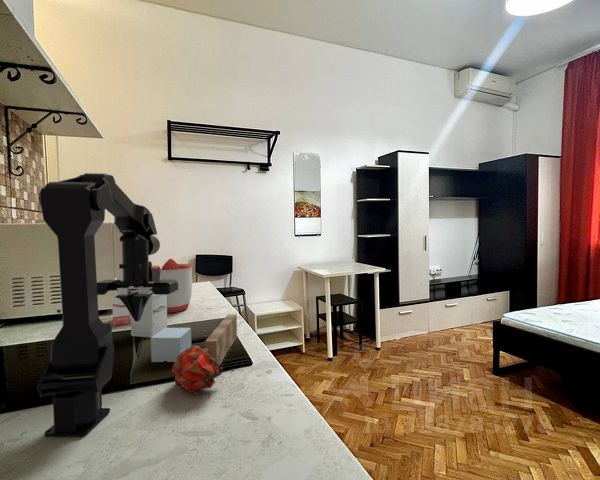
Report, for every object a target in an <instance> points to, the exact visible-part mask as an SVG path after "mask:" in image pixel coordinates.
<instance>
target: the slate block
mask: <svg viewBox="0 0 600 480" xmlns="http://www.w3.org/2000/svg"><path fill="white" fill-rule="evenodd" d="M191 347H192V328H191V327H167V328H164V329H162V330H161V331H159V332H158V333H157V334H155V335H154V336H153V337H150V353H151V363H165V362H164V361H167V362H166V363H176V362H177V357H178V356H179V354H180V353H182V352H183V351H185V350H186V349H187V348H191Z"/></svg>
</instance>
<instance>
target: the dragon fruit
mask: <svg viewBox="0 0 600 480" xmlns="http://www.w3.org/2000/svg"><path fill="white" fill-rule="evenodd" d="M209 352H210V350H209V349H207V348H204V347H203V348H201V347H200V346H199V345H193V346H192V345H191V348H187V349H186V350H185V351H183V352H182V353H180V354H179V356H178V357H177V362H173V365H172V370H171V372H172V373H174V375H175V376H174V383H175V386H176V388H177V389H181V388H182V387H183V388H185V389H186V391H187V392H189V393H191V395H196V396H197V395H203V393H202V392H201V388H203V389H207V388H208V389H212V387H213V386H214V385H215V384H216V381H215V380H214V379H216V378H218V377H219V376H221V375H222V373H223V369H224V368H223V366H220V368H217V367H215V366H214V365H213V363H214V364H216V365H217V366H219V365H218V364H217V363H215V358H214V357H213V356H211V355H208V354H209Z"/></svg>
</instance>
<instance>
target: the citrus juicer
mask: <svg viewBox="0 0 600 480" xmlns="http://www.w3.org/2000/svg"><path fill="white" fill-rule="evenodd" d="M192 267H193V265H192V264H189V263H178V262H176V261H175V260H174V259H173V258H169V259H168V260H166V262H165V263H164V264H163V265H162V267H161V266H159V265H152V268H155V269H158V270H160V271H161V273H160V280H162V279H175V280H176V281H177V282H178V290H176V291H175V292H173V293H171V294H167V314H170V313H177V312H182V311H185V310H187V309H188V308H189V305H190V302H191V299H192V293H193V278H192V277H193V274H192V272H193V269H192ZM149 283H154V282H149Z"/></svg>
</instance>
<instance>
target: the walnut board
mask: <svg viewBox="0 0 600 480" xmlns="http://www.w3.org/2000/svg"><path fill="white" fill-rule="evenodd" d="M236 338H237V339H238V317H237V314H234V313H233V314H231V313H229V314H227V315H226V316H225V318H224V319H223V320H221V322H220V323H219V324H218V326H217V327H216V328H215V329H214V330H213V331H212V333H210V335H209V336H208V337H207V339H206V340H205V341H204V347H205V348H207V349H209V350H210V352H209V354H208V355H211V356H213V357H214V358H215V363H217V364H218V365H219V366H220V364H221V363H222V361H223V359H224V357H225V356H226V354H227V352H228V351H229V349H230V347H231V346H232V344H233V343H234V341H235V340H236V341H237V339H236ZM236 341H235V342H236ZM234 344H235V343H234ZM234 344H233V345H234ZM232 347H233V346H232ZM230 350H231V349H230ZM229 352H230V351H229ZM227 355H228V354H227ZM226 357H227V356H226ZM224 360H225V359H224ZM223 362H224V361H223ZM222 364H223V363H222ZM222 364H221V365H222ZM213 365H214V366H215V367H217V368H218V367H219V366H217V365H216V364H214V363H213ZM220 367H221V366H220Z"/></svg>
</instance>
